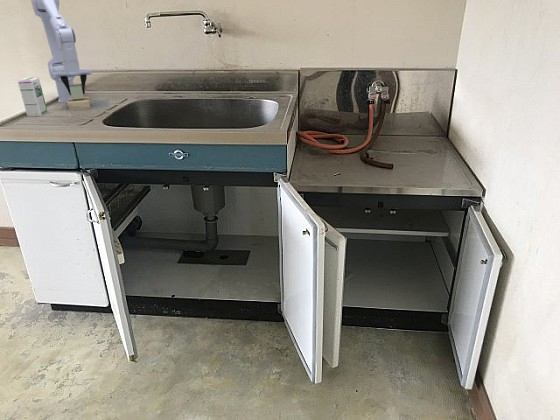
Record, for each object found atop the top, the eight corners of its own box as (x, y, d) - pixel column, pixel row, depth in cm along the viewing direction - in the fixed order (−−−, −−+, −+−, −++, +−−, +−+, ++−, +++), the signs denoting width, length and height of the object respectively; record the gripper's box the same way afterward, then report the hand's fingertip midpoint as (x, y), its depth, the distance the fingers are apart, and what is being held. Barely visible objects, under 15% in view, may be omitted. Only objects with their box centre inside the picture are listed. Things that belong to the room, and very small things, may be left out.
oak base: (69, 105, 200) (68, 98, 198) (89, 103, 202) (88, 96, 201) (69, 110, 193) (68, 102, 192) (90, 108, 196) (88, 100, 194)
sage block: (72, 96, 197) (69, 84, 195) (83, 95, 198) (81, 83, 196) (72, 99, 193) (69, 86, 191) (83, 98, 195) (81, 85, 192)
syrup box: (41, 117, 186) (32, 79, 180) (26, 117, 186) (17, 80, 180) (48, 113, 191) (39, 76, 185) (33, 113, 191) (24, 77, 185)
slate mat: (66, 104, 204) (66, 103, 204) (107, 100, 209) (107, 99, 209) (65, 112, 192) (65, 111, 192) (109, 108, 197) (109, 106, 197)
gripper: (50, 63, 184) (58, 97, 190) (89, 60, 188) (96, 94, 194) (51, 60, 190) (58, 94, 196) (89, 57, 194) (95, 91, 200)
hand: (77, 94), depth 195 cm, fingers closed on sage block, 4 cm apart
